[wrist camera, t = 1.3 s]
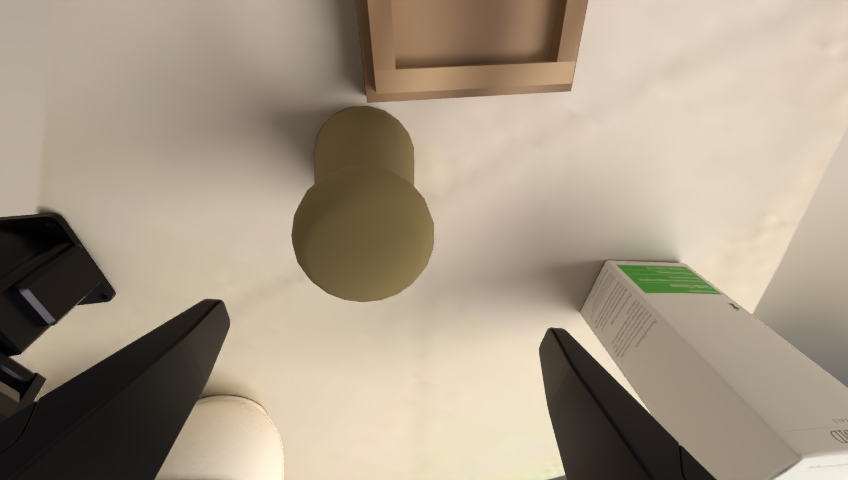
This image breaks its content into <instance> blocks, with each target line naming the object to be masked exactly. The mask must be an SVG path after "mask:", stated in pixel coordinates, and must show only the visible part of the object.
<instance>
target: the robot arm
mask: <svg viewBox="0 0 848 480" xmlns="http://www.w3.org/2000/svg"><path fill="white" fill-rule="evenodd" d="M51 221H53V222H54V223H55V224H54V223H52V222H51ZM105 294H106V295H105ZM115 295H116V293H115V291H114V289H113V288H112V286H111V285H110V284H109V282H108V281H107V279H106V278H105V276H104V275H103V274H102V272H101V271H100V269H99V268H98V266H97V265H96V263H95V262H94V261H93V259H92V258H91V256H90V255H89V253H88V252H87V251H86V249H85V248H84V246H83V245H82V243H81V242H80V240H79V239H78V238H77V236H76V235H75V233H74V232H73V230H72V229H71V228H70V226H69V225H68V223H67V222H66V220H65V219H64V218H63V217H62V216H60V215H58V214H55V213H46V214H34V215H22V216H10V217H0V480H155V478H156V476H157V474H158V472H159V471H160V469H161V467H162V465H163V463H164V461H165V459H166V458H167V456H168V454H169V452H170V450H171V448H172V446H173V445H174V443H175V441H176V439H177V437H178V435H179V433H180V432H181V430H182V428H183V426H184V424H185V422H186V420H187V419H188V417H189V415H190V413H191V411H192V409H193V407H194V406H195V404H196V402H197V400H198V398H199V396H200V394H201V393H202V391H203V389H204V387H205V385H206V383H207V381H208V379H209V376H210V374H211V372H212V369H213V367H214V364H215V362H216V359H217V357H218V355H219V352H220V350H221V347H222V345H223V342H224V340H225V337H226V335H227V333H228V330H229V327H230V319H229V316H228V313H227V310H226V307H225V304H224V302H223V301H222V300H218V299H205V300H202V301H201V302H199V303H197V304H196V305H194V306H192V307H191V308H189V309H187V310H186V311H184V312H182V313H181V314H179V315H177V316H176V317H174V318H172V319H171V320H169V321H167V322H166V323H164V324H162V325H161V326H159V327H157V328H156V329H154V330H152V331H151V332H149V333H147V334H146V335H144V336H142V337H141V338H139V339H137V340H136V341H134V342H132V343H131V344H129V345H127V346H126V347H124V348H122V349H121V350H119V351H117V352H116V353H114V354H112V355H111V356H109V357H107V358H106V359H104V360H102V361H101V362H99V363H97V364H96V365H94V366H92V367H91V368H89V369H87V370H86V371H84V372H82V373H81V374H79V375H77V376H76V377H74V378H72V379H71V380H69V381H67V382H66V383H64V384H63V385H61V386H59V387H58V388H56V389H54V390H53V391H51V392H49V393H48V394H46V395H44V396H43V397H41V398H40V399H39V400H38V401H34V399H35V397H36V396H37V394H38V392H39V391H40V389H41V387H42V386H43V384H44V382H45V381H46V378H45V377H43V376H42V375H40V374H39V373H33V372H32V371H30V370H29V369H27V368H26V367H24V366H23V365H21V364H19V363H18V362H16V361H15V360H14V359H12V358H10V357H11V356H14V355H19V354H21V353H22V352H24V351H25V350H26V349H27V348H28V347H29V346H30V345H31V344H32V343H33V342H34V341H35V340H37V339H38V338H39V337H40V336H41V335H42V334H43V333H44V332H45V331H46V330H47V329H48V328H49V327H51V326H53V325H55V324H57V323H58V322H59V321H60V320H61V319H62V318H63V317H64V316H65V315H67V314H68V313H69V312H70V311H71V310H72V309H73V308H74V307H75V306H76V305H84V304H93V303H102V302H108V301H110V300H112V299H113V298H114V297H115ZM539 355H540V362H541V368H542V375H543V381H544V388H545V394H546V400H547V406H548V410H549V414H550V418H551V422H552V426H553V430H554V433H555V437H556V441H557V445H558V448H559V452H560V456H561V460H562V463H563V467H564V471H565V475H566V478H567V480H717V479H716V478H715V477H714V476H713V475H712V474H711V473H710V472H708V471H707V470H706V469H705V468H704V467H703V466H702V465H701V464H700V463H699V462H698V461H697V460H696V459H695V458H694V457H693V456H692V455H691V454H690V453H689V452H688V451H687V450H686V449H685V448H684V447H683V446H682V445H679V443H678V441H677V440H676V439H675V438H674V437H673V436H672V435H671V434H670V433H669V432H668V431H667V430H666V429H665V428H664V427H663V426H662V425H661V424H660V423H659V422H658V421H657V420H656V419H655V418H654V417H653V416H652V415H651V414H650V413H649V412H648V411H647V410H646V409H645V408H644V407H643V406H642V405H641V404H640V403H639V402H638V401H637V400H636V399H635V398H634V397H633V396H632V395H631V394H629V393H628V392H627V391H626V390H625V389H624V388H623V387H622V386H621V385H620V384H619V383H618V382H617V381H616V380H615V379H614V378H613V377H612V376H611V375H610V374H609V373H608V372H607V371H606V370H605V369H604V368H603V367H602V366H601V365H600V364H599V363H598V362H597V361H596V360H595V359H594V358H593V357H592V356H591V355H590V354H589V353H588V352H587V351H586V350H585V349H584V348H583V347H582V346H581V345H580V344H579V343H578V342H577V341H576V340H575V339H574V338H573V337H572V336H571V335H570V334H569V333H568V332H567V331H566V330H565V329H562V328H552V327H551V328H549V329H548V330H547V331H546V334H545V336H544V338H543V340H542V342H541V344H540V348H539ZM33 401H34V402H33Z"/></svg>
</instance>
